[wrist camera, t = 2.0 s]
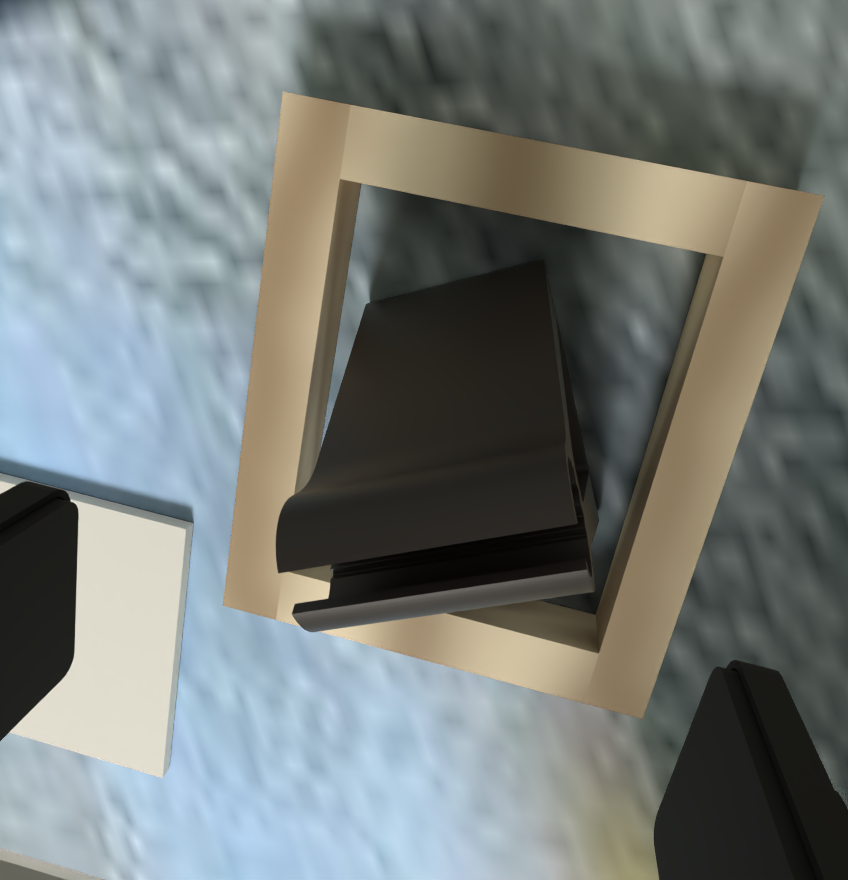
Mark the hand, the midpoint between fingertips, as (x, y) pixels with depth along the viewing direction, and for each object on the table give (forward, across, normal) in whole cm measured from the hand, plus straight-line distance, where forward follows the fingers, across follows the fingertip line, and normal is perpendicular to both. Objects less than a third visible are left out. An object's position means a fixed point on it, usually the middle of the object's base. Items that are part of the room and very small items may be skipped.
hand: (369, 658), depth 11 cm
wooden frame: (+16, 0, +1) cm, 16 cm away
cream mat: (+16, +16, +14) cm, 26 cm away
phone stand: (+16, 0, +1) cm, 16 cm away
